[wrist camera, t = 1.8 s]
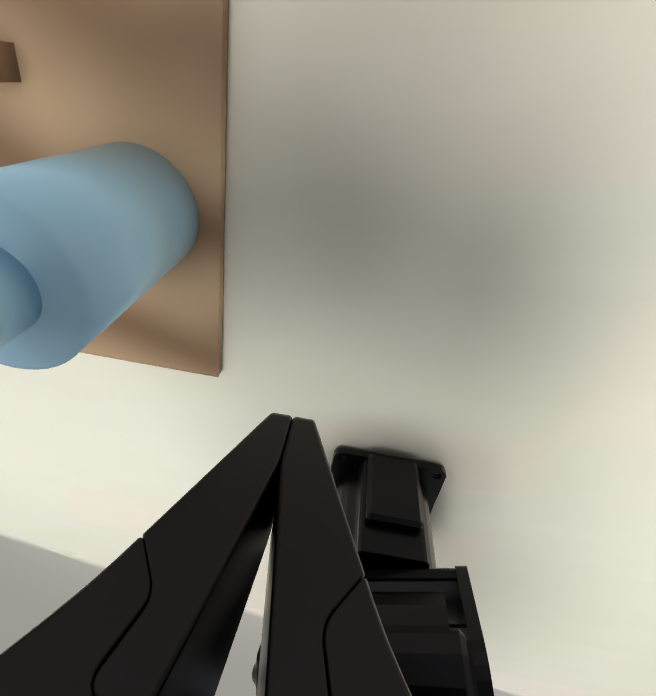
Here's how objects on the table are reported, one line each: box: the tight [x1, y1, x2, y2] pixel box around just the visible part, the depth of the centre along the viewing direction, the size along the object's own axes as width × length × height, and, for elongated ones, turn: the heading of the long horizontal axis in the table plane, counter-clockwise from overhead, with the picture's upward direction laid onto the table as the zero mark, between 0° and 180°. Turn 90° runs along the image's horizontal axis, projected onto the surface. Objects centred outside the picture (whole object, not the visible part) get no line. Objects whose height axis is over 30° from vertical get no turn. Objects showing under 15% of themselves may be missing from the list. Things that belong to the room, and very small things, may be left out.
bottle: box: [0, 142, 199, 369], centre depth 13 cm, size 5×5×11 cm
